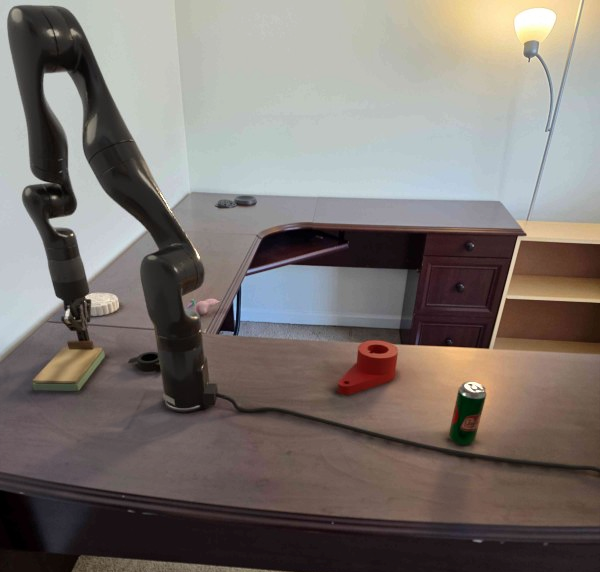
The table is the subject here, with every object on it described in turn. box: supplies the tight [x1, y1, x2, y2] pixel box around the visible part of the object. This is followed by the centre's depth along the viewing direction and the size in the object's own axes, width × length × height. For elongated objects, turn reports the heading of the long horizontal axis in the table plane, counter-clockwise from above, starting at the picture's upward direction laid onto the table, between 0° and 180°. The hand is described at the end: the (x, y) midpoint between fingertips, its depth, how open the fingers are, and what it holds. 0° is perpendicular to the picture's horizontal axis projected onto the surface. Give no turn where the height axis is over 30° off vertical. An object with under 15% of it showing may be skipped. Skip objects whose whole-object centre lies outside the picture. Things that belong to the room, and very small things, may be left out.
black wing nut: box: [127, 351, 161, 373], centre depth 121 cm, size 8×10×3 cm
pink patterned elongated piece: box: [186, 298, 221, 316], centre depth 148 cm, size 6×6×15 cm
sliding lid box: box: [32, 349, 106, 392], centre depth 118 cm, size 10×17×2 cm, turn 179°
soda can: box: [448, 381, 487, 446], centre depth 95 cm, size 5×5×12 cm
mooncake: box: [85, 291, 120, 317], centre depth 152 cm, size 12×12×4 cm
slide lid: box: [32, 339, 103, 384], centre depth 117 cm, size 10×17×3 cm, turn 179°
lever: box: [337, 339, 399, 396], centre depth 116 cm, size 18×9×7 cm, turn 136°
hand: (84, 342), depth 125 cm, fingers closed
